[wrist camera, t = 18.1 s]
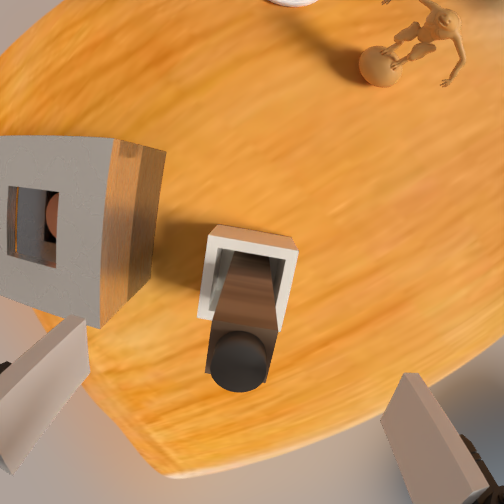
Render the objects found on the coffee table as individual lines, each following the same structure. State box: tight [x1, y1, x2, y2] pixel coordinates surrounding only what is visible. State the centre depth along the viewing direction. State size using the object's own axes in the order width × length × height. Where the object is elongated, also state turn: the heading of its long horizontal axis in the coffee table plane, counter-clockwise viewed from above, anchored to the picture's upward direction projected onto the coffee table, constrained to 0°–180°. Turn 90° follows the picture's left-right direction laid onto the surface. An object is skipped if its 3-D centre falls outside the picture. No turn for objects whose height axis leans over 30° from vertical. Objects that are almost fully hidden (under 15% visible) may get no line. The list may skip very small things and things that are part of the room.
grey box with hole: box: [0, 136, 166, 329], centre depth 23 cm, size 12×12×11 cm
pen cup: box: [197, 224, 299, 332], centre depth 26 cm, size 7×7×6 cm
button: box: [46, 193, 59, 238], centre depth 25 cm, size 4×4×6 cm
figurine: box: [359, 0, 466, 87], centre depth 19 cm, size 8×6×12 cm
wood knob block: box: [205, 251, 278, 392], centre depth 21 cm, size 3×3×16 cm
